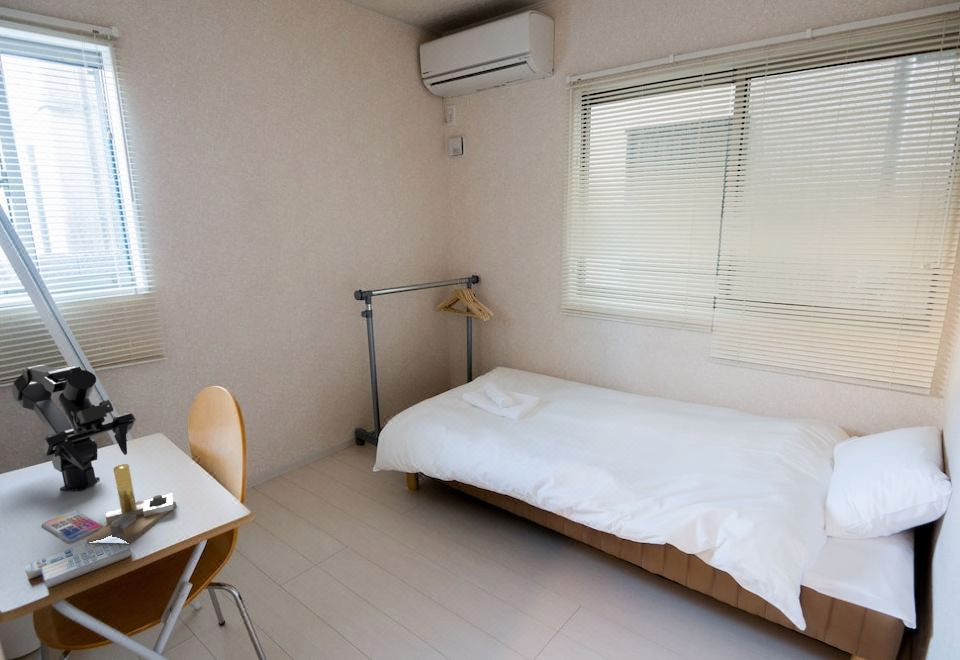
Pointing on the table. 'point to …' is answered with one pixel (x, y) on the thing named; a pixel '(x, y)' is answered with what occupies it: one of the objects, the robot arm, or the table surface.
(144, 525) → the keeper board
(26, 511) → the table surface
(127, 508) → the link
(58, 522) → the smartphone
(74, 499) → the table surface
